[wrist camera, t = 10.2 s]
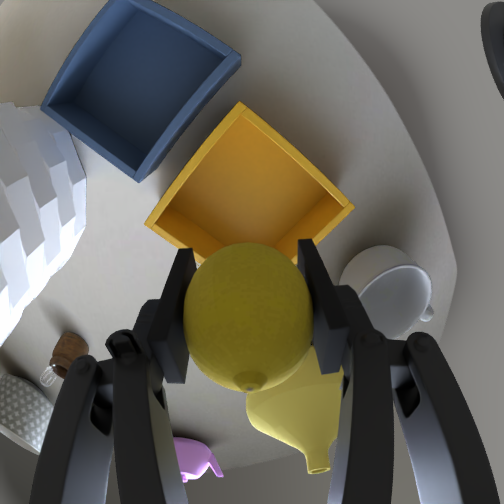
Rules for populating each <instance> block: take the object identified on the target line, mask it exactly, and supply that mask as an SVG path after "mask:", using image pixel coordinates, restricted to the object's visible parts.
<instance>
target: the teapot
mask: <svg viewBox="0 0 504 504" xmlns="http://www.w3.org/2000/svg"><path fill="white" fill-rule="evenodd" d="M173 440H174V445H175V450H176V455H177V459H178V464H179V468H180V472H181V476H182V480H183V482H187V479H197V478H199V477H200V476H201V475H202V474H203V473H204V472H205V471H206V469H207V468H208V466H211V468H212V469H213V471H214V472H215V474H216V475H217V477H223V474H222V471H221V469H220V467H219V465H218V463H217V461H216V459H215V456H214V454H213V453H211V451H210V449H209V448H208V447H207V446H206V445H205V444H203V443H201V442H199V441H196V440H192V439H188V438H181V437H173Z"/></svg>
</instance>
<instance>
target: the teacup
mask: <svg viewBox="0 0 504 504" xmlns="http://www.w3.org/2000/svg"><path fill="white" fill-rule="evenodd" d="M347 284H348V285H349V286H350V287H352V288H353V289H354V290H355V291H356V293H357V295H358V297H359V300H360V301H361V303H362V306H363V307H364V309H365V311H366V313H367V315H368V317H369V319H370V321H371V323H372V325H373V327H374V329H376V330H378V331H380V332H382V333H383V334H384V335H385V336H386V338H387V339H392V340H393V339H395V338H397V337H399V336H401V335H402V334H404V333H406V332H407V331H408V330H409V329H411V328H412V327H413V326H414V325H415V324H416V323H417V322H418V320H419V319H420V320H422V321H425V322H427V321H429V320H430V319H431V318H432V316H433V314H434V311H433V309H432V307H431V306H430V305H429V302H430V299H431V295H432V282H431V279H430V276H429V275H428V273H427V272H426V271H425V270H424V269H423V268H422V267H420V266H419V265H418V264H417V263H416V262H415V261H413V260H412V259H411V258H410V257H409V256H408V255H406V254H405V253H404V252H403V251H401V250H399V249H397V248H395V247H392V246H387V245H379V246H374V247H370V248H368V249H366V250H364V251H362V252H360V253H359V254H357V255H356V256H355V257H354V258H353V259H352V260H351V261H350V262H349V263H348V264H347V266H346V267H345V269H344V271H343V273H342V275H341V278H340V281H339V285H347Z"/></svg>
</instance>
